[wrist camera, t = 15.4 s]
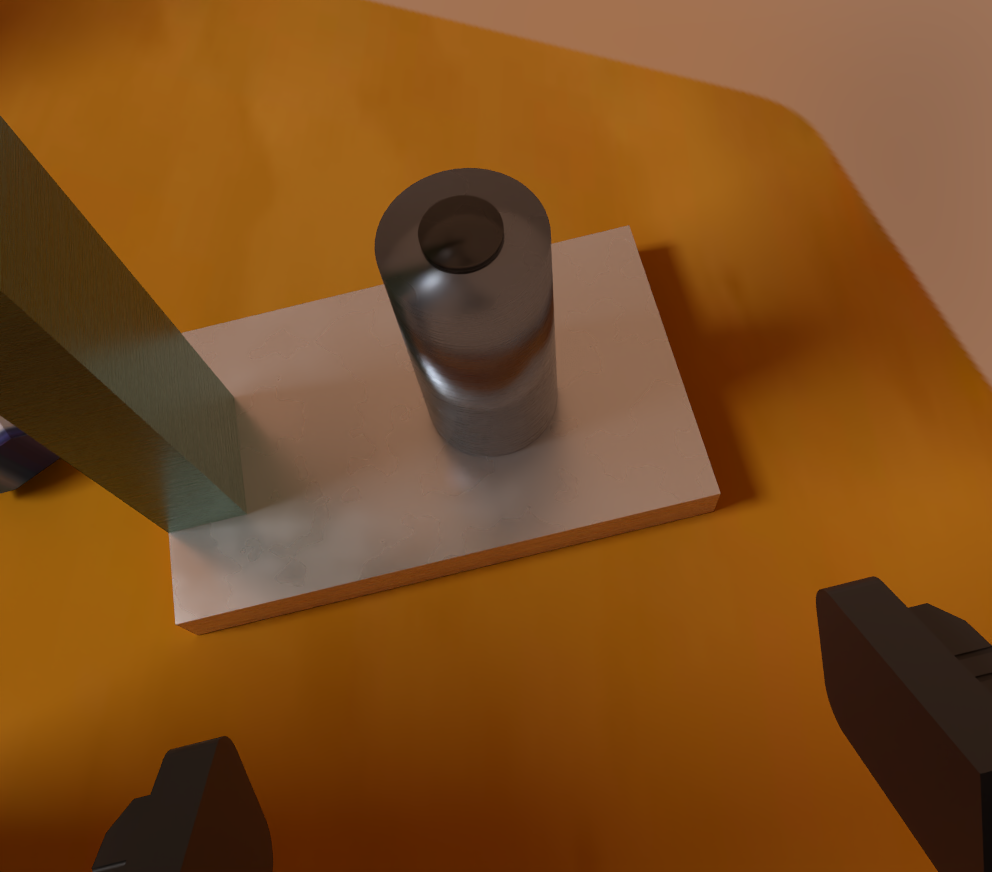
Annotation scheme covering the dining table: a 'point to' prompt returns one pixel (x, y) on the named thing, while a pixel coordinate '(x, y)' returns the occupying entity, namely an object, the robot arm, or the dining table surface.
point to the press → (328, 421)
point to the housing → (474, 305)
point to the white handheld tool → (20, 457)
